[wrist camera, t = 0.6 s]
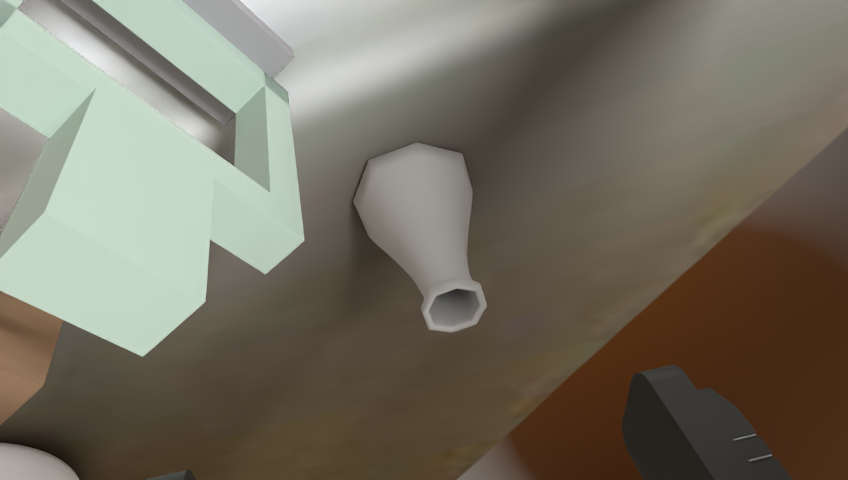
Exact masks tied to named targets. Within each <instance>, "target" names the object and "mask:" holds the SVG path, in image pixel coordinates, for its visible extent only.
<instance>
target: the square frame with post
mask: <svg viewBox="0 0 848 480" xmlns="http://www.w3.org/2000/svg"><path fill="white" fill-rule="evenodd" d="M23 1H24V0H0V108H2V109H3V110H5V111H6V112H8V113H10V114H11V115H13V116H14V117H16V118H18V119H19V120H21V121H22V122H24V123H25V124H27V125H29V126H30V127H32V128H33V129H35V130H37V131H38V132H40V133H41V134H43V135H45V136H46V137H48V138H49V140H48V141H47V142H46V143H45V145H44V147H43V149H42V151H41V153H40V156H39V158H38V160H37V162H36V164H35V166H34V168H33V170H32V172H31V174H30V176H29V178H28V180H27V182H26V184H25V187H24V189H23V191H22V193H21V195H20V197H19V199H18V201H17V203H16V205H15V207H14V209H13V211H12V213H11V215H10V217H9V220H8V222H7V224H6V226H5V228H4V230H3V232H2V234H1V236H0V291H2V292H4V293H6V294H9V295H11V296H13V297H15V298H17V299H19V300H21V301H24V302H26V303H28V304H30V305H32V306H34V307H37V308H39V309H41V310H43V311H45V312H47V313H49V314H52V315H54V316H56V317H58V318H60V319H62V320H65V321H67V322H69V323H71V324H73V325H75V326H77V327H80V328H82V329H84V330H86V331H88V332H90V333H93V334H95V335H97V336H99V337H101V338H103V339H105V340H108V341H110V342H112V343H114V344H116V345H118V346H121V347H123V348H125V349H127V350H129V351H131V352H133V353H136V354H138V355H140V356H142V357H143V356H144V355H145V354H147V353H148V352H149V351H150V350H151V349H152V348H153V347H155V346H156V345H157V344H158V343H159V342H160V341H161V340H163V339H164V338H165V337H166V336H167V335H168V334H169V333H171V332H172V331H173V330H174V329H175V328H176V327H177V326H178V325H180V324H181V323H182V322H183V321H184V320H185V319H186V318H188V317H189V316H190V315H191V314H192V313H193V312H194V311H196V310H197V309H198V308H199V307H200V306H201V305H202V304H204V303H205V301H206V287H207V273H208V259H209V246H210V240H212V241H213V242H215V243H217V244H218V245H220V246H221V247H223V248H224V249H226V250H228V251H229V252H231V253H232V254H234V255H236V256H237V257H239V258H240V259H242V260H244V261H245V262H247V263H248V264H250V265H252V266H253V267H255V268H256V269H258V270H260V271H261V272H263V273H264V274H267V273H268V272H269V271H270V270H271V269H272V268H273V267H275V266H276V265H277V264H278V263H279V262H280V261H282V260H283V259H284V258H285V257H286V256H287V255H289V254H290V253H291V252H292V251H293V250H294V249H295V248H297V247H298V246H299V245H300V244H301V243H302V242H304V241H305V240H304V231H303V222H302V213H301V204H300V196H299V187H298V178H297V169H296V160H295V151H294V142H293V134H292V125H291V116H290V107H289V98H288V92H287V91H286V90H285V89H284V88H283V87H281V86H280V85H279V84H278V83H277V82H276V81H274V80H273V79H272V78H273V77H274V76H275V75H276V74H277V73H279V72H280V71H281V70H282V69H283V68H284V67H285V66H286V65H287V64H288V63H289V62H290V61H291V60H292V59H293V58H294V55H293V49H292V48H291V47H289V46H288V45H287V44H286V43H285V42H284V41H283V40H282V39H281V38H280V37H279V36H277V35H276V34H275V33H274V32H273V31H272V30H271V29H270V28H269V27H268V26H267V25H266V24H264V23H263V22H262V21H261V20H260V19H259V18H258V17H257V16H256V15H255V14H254V13H253V12H251V11H250V10H249V9H248V8H247V7H246V6H245V5H244V4H243V3H242V2H241V1H240V0H60V1H62V2H63V3H64V4H66V5H67V6H68V7H69V8H71V9H72V10H73V11H75V12H76V13H77V14H79V15H80V16H81V17H83V18H84V19H85V20H86V21H88V22H89V23H90V24H92V25H93V26H94V27H96V28H97V29H98V30H100V31H101V32H102V33H103V34H105V35H106V36H107V37H109V38H110V39H111V40H113V41H114V42H115V43H117V44H118V45H119V46H120V47H122V48H123V49H124V50H126V51H127V52H128V53H130V54H131V55H132V56H134V57H135V58H136V59H137V60H139V61H140V62H141V63H143V64H144V65H145V66H147V67H148V68H149V69H151V70H152V71H153V72H154V73H156V74H157V75H158V76H160V77H161V78H162V79H164V80H165V81H166V82H167V83H169V84H170V85H171V86H173V87H174V88H175V89H177V90H178V91H179V92H181V93H182V94H183V95H184V96H186V97H187V98H188V99H190V100H191V101H192V102H194V103H195V104H196V105H198V106H199V107H200V108H201V109H203V110H204V111H205V112H207V113H208V114H209V115H211V116H212V117H213V118H215V119H216V120H217V121H218V122H220V123H221V124H222V125H225V124H227V123H228V122H229V121H230V120H231V119H232V118H233V117H234V116H235V115H236V128H235V163H234V166H233V165H231V164H230V163H229V162H227V161H226V160H224V159H223V158H222V157H220V156H219V155H218V154H216V153H215V152H213V151H212V150H211V149H209V148H208V147H207V146H205V145H204V144H202V143H201V142H200V141H198V140H197V139H196V138H194V137H193V136H191V135H190V134H189V133H187V132H186V131H185V130H183V129H182V128H180V127H179V126H178V125H176V124H175V123H174V122H172V121H171V120H169V119H168V118H167V117H165V116H164V115H163V114H161V113H160V112H158V111H157V110H156V109H154V108H153V107H152V106H150V105H149V104H147V103H146V102H145V101H143V100H142V99H141V98H139V97H138V96H137V95H135V94H134V93H132V92H131V91H130V90H128V89H127V88H126V87H124V86H123V85H121V84H120V83H119V82H117V81H116V80H115V79H113V78H112V77H110V76H109V75H108V74H106V73H105V72H104V71H102V70H101V69H99V68H98V67H97V66H95V65H94V64H93V63H91V62H90V61H88V60H87V59H86V58H84V57H83V56H82V55H80V54H79V53H77V52H76V51H75V50H73V49H72V48H71V47H69V46H68V45H66V44H65V43H64V42H62V41H61V40H60V39H58V38H57V37H55V36H54V35H53V34H51V33H50V32H49V31H47V30H46V29H44V28H43V27H42V26H40V25H39V24H38V23H36V22H35V21H33V20H32V19H31V18H29V17H28V16H27V15H25V14H24V13H22V12H21V11H20V10H18V9H17V8H18V7H19V6H20V4H21V3H22V2H23Z"/></svg>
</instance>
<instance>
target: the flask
mask: <svg viewBox="0 0 848 480" xmlns="http://www.w3.org/2000/svg"><path fill="white" fill-rule="evenodd" d="M472 198H473V190H472V186H471V183H470V179H469V175H468V172H467V168H466V165H465V161H464V157H463V154H462V153H459V152H455V151H450V150H446V149H442V148H438V147H434V146H430V145H426V144H421V143H414V144H411V145H408V146H405V147H403V148H400V149H397V150H394V151H391V152H389V153H386V154H383V155H380V156H378V157H375V158H372V159H369V160H368V162H367V165H366V168H365V171H364V173H363V176H362V179H361V181H360V184H359V187H358V189H357V192H356V195H355V198H354V200H353V202H354V204H355V207H356V209H357V211H358V213H359V216H360V218H361V220H362V223H363V225H364V227H365V229H366V232H367V234H368V236H369V238H370V239H371V240H372V241H373V242H374V243H376V244H377V245H378V246H379V247H380V248H381V249H382V250H384V251H385V252H386V253H387V254H388V255H389V256H390V257H391V258H393V259H394V260H395V261H396V262H397V263H398V264H399V265H400V266H401V267H402V268H403V269H404V270H405V271H406V272H407V273H408V274H409V275H410V276H411V277H412V278H413V280H414V282H415V283H416V285H417V286H418V288H419V290H420V291H421V293H422V295H423V297H424V301H423V303H422V305H421V311H422V314H423V316H424V319H425V321H426V323H427V326H428V328H429V330H433V331H442V332H450V333H453V332H456V331H459V330H462V329H464V328H467V327H470V326H473V325H476V324H477V323H478V321H479V319H480V317H481V315H482V314H483V312H484V310H485V308H486V306H487V304H486V301H485V297H484V294H483V291H482V287H481V285H480V283H479V282H477V281H473V280H472V279H471V276H470V273H469V267H468V260H467V246H468V232H469V222H470V214H471V206H472Z"/></svg>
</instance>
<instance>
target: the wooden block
mask: <svg viewBox="0 0 848 480" xmlns="http://www.w3.org/2000/svg"><path fill="white" fill-rule="evenodd" d="M63 321H64V320H62V319H60V318H58V317H56V316H54V315H52V314H49V313H47V312H45V311H43V310H41V309H39V308H37V307H34V306H32V305H30V304H28V303H26V302H24V301H21V300H19V299H17V298H15V297H13V296H11V295H9V294H6V293H4V292H2V291H1V292H0V425H1V424H2V423H3V422H5V421H6V420H7V419H8V418H9V417H10V416H11V415H12V414H13V413H14V412H15V411H17V410H18V409H19V408H20V407H21V406H22V405H23V404H24V403H25V402H26V401H27V400H28V399H30V398H31V397H32V396H33V395H34V394H35V393H36V392H37V391H38V390H39V389H40V388H41V387H43V385H44V382H45V379H46V376H47V372H48V369H49V366H50V363H51V359H52V356H53V353H54V350H55V346H56V343H57V340H58V337H59V334H60V330H61V327H62V324H63Z"/></svg>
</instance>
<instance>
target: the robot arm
mask: <svg viewBox="0 0 848 480" xmlns="http://www.w3.org/2000/svg"><path fill="white" fill-rule="evenodd" d="M622 432H623V437H624V441H625V445H626V448H627V450H628V452H629V454H630V456H631V458H632V460H633V462H634V463H635V465H636V467H637V469H638V471H639V472H640V474H641V476H642V478H643V480H793V479H792V478H791V477H790V475H789V474H788V473H787V471H786V470H785V469H784V468H783V466H782V465H781V464H780V463H779V461H778V460H777V459H776V458H773V456H772V452H771V451H770V450H769V448H768V447H767V446H766V444H765V443H764V442H763V441H762V439H761V438H760V437H757V436H756V432H755V430H754V429H753V428H752V426H751V425H750V424H749V423H748V421H747V420H746V419H745V417H744V416H743V415H742V413H741V412H740V411H739V410H738V408H737V407H736V406H734V405H733V404H732V403H730V402H729V401H727V400H726V399H725V398H723V397H721V396H720V395H719V394H718V393H716V392H715V391H714V390H712V389H711V388H706V389H701V390H697V389H696V388H695V387H694V386H693V384H692V383H691V381H690V380H689V378H688V377H687V376H686V374H685V373H684V372H683V371H682V370H681V369H680V368H679V367H677V366H675V365H670V366H665V367H661V368H656V369H652V370H647V371H643V372H638V373H635V374H634V375H633V377H632V380H631V385H630V390H629V394H628V399H627V403H626V408H625V413H624V417H623V422H622ZM145 480H195V478H194V476H193V474H192V472H191V471H190V470H186V471H181V472H177V473H172V474H168V475H163V476H159V477H154V478H149V479H145Z"/></svg>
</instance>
